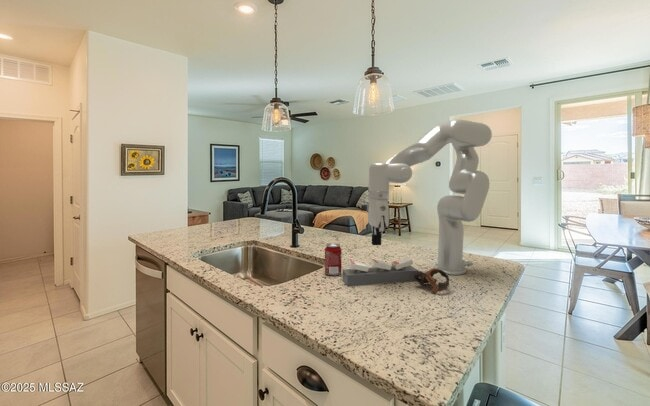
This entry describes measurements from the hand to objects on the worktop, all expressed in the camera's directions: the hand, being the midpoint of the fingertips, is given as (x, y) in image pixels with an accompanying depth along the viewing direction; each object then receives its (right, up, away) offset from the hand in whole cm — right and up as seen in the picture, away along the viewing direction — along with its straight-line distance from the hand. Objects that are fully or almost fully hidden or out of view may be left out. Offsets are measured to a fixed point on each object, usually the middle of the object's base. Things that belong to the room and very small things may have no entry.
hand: (376, 244), depth 114 cm
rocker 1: (-7, -8, 0) cm, 11 cm away
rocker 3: (+11, -8, +3) cm, 14 cm away
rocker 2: (+2, -8, +1) cm, 8 cm away
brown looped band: (+18, -15, -6) cm, 25 cm away
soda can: (-16, -13, +10) cm, 23 cm away
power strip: (+5, -14, +2) cm, 15 cm away
